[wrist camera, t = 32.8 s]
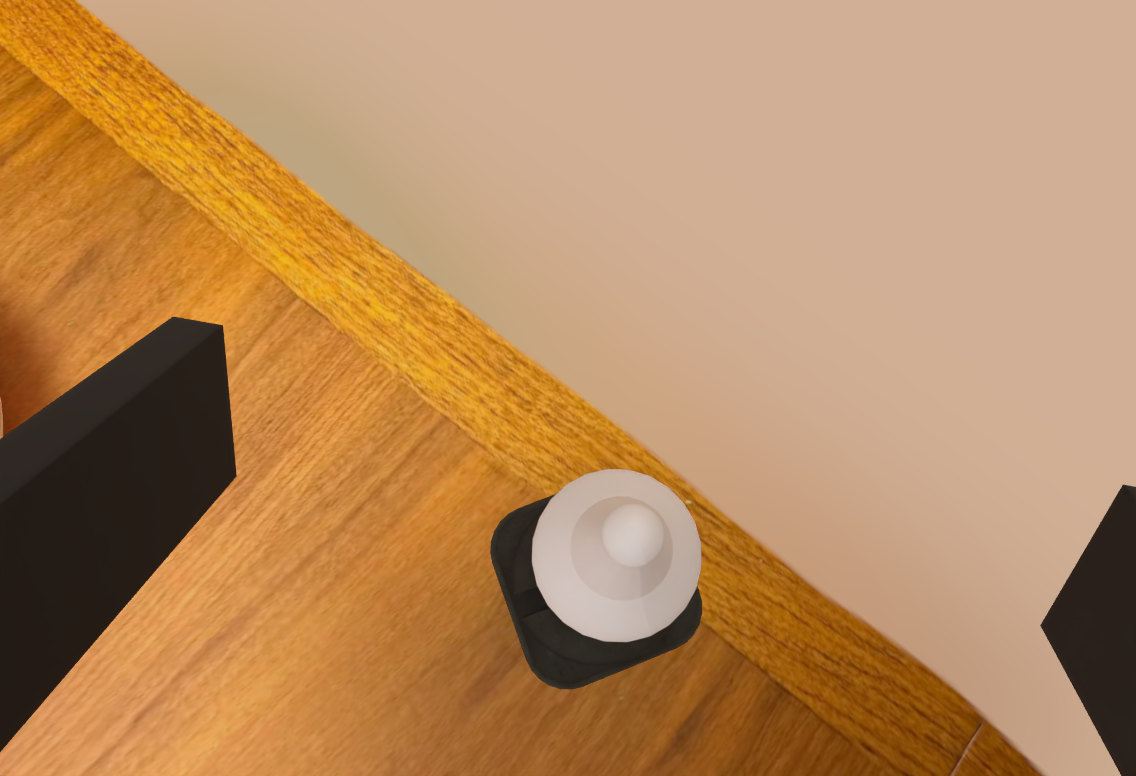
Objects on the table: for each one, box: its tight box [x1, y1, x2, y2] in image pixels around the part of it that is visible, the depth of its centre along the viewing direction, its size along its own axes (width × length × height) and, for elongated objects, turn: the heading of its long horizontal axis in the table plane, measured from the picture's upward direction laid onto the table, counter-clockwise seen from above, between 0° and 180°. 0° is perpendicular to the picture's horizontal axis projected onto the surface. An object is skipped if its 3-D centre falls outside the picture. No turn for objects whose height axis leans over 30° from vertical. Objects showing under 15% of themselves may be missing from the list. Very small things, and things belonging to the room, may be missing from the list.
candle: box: [490, 469, 702, 689], centre depth 22 cm, size 5×5×25 cm
